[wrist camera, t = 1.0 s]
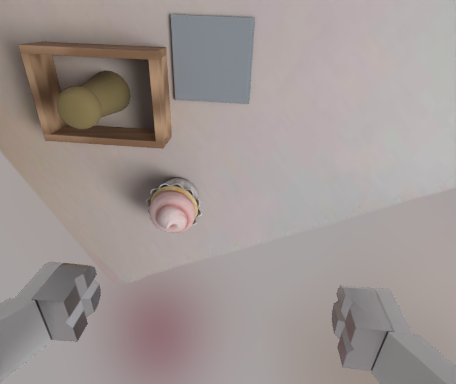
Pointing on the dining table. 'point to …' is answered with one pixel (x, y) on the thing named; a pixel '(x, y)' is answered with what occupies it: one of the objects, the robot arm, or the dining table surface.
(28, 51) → the frame
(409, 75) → the dining table surface
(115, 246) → the dining table surface
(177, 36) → the felt pad
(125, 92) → the olive piece
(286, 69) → the dining table surface
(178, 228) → the cupcake
